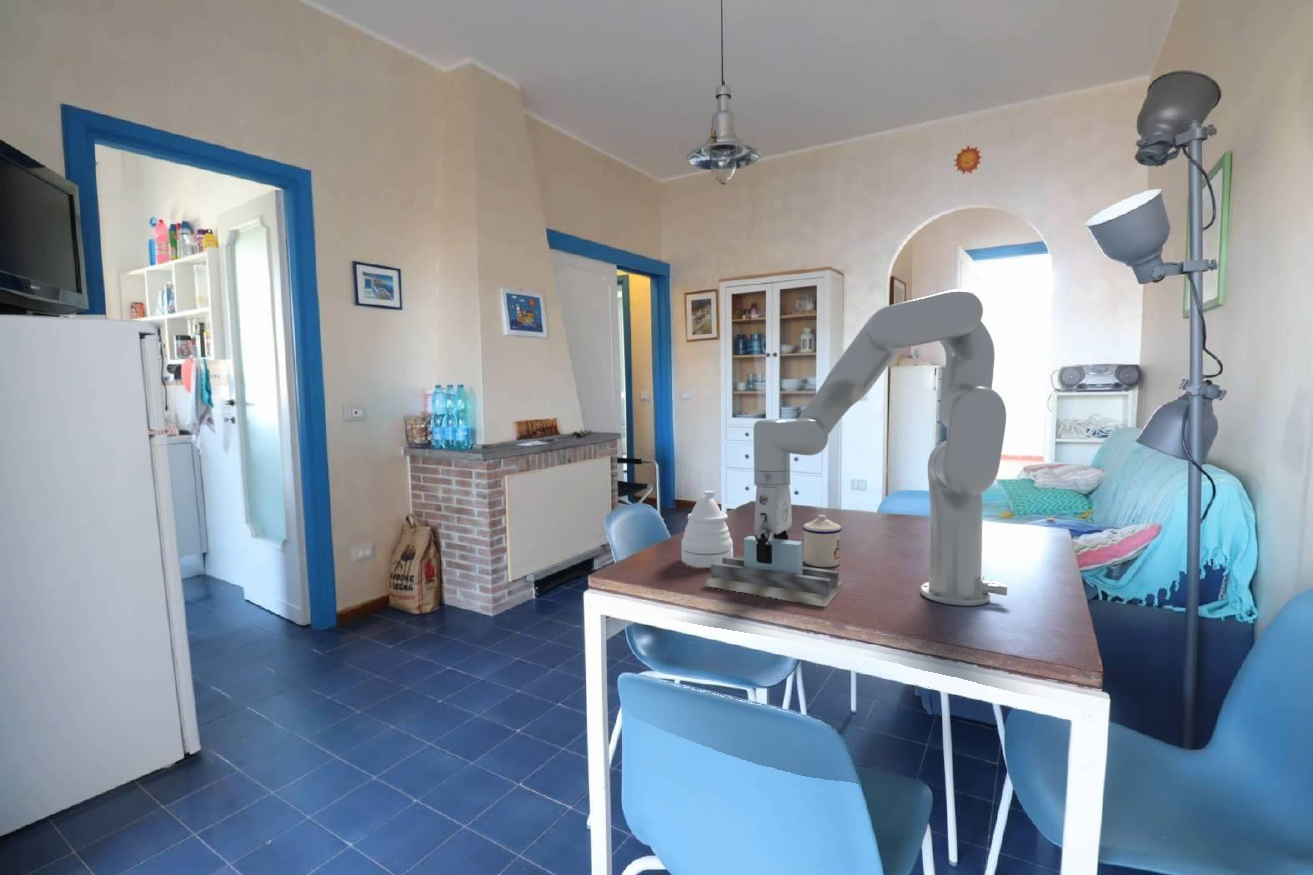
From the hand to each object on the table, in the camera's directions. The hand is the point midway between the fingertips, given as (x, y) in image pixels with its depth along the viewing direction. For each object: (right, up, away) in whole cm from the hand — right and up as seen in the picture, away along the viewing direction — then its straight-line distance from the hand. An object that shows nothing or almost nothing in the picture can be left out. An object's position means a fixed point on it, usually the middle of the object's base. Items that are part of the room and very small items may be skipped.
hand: (772, 557), depth 132 cm
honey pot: (-12, -6, +22) cm, 26 cm away
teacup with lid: (+16, -5, +20) cm, 26 cm away
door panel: (0, -5, 0) cm, 5 cm away
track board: (0, -7, +1) cm, 7 cm away
